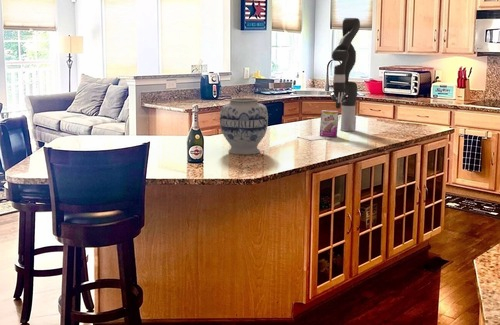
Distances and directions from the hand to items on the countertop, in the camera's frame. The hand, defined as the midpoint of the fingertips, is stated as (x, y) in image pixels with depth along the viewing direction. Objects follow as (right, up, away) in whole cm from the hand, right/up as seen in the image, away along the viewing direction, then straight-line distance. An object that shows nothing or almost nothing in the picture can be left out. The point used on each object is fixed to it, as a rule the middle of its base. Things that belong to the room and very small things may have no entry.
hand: (338, 108), depth 408 cm
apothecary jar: (-60, -29, -52) cm, 85 cm away
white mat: (-16, -19, -5) cm, 26 cm away
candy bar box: (-6, -18, 0) cm, 19 cm away
